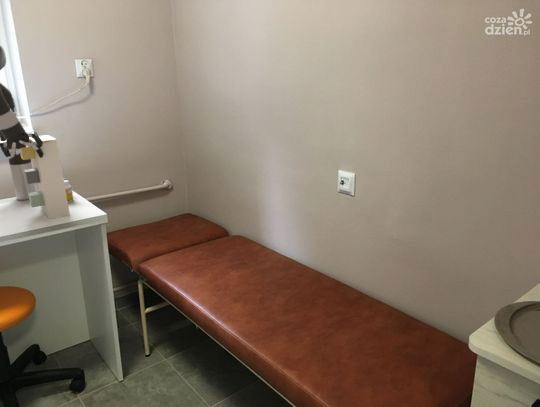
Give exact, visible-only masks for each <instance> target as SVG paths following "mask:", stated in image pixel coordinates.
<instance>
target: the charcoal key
mask: <svg viewBox="0 0 540 407" xmlns="http://www.w3.org/2000/svg"><path fill="white" fill-rule="evenodd" d="M32 168H33V169H26V170H24V174H25V179H26V182H27V183H28V184H32V183H36V184H37V183H39V182H40V178H39V173H38V169H36V168H34V167H32Z"/></svg>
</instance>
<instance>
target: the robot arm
mask: <svg viewBox="0 0 540 407" xmlns="http://www.w3.org/2000/svg"><path fill="white" fill-rule="evenodd" d="M6 65H7V55H6V52H5V50H4V47H3V46H2V45H0V71H1V70H2V69H3V68H5V67H6ZM15 109H16V108H15V101H14V99H13V95H12V92H11V90H10V89H9V88H8V87H6V85H5V84H4V83H2V82H1V81H0V150H1V151H2V153H3V154H4V156H5V157H6V158H8V157H9V158H8V163H9V168H10V172H11V177H12V182H13V188H14V192H15V197H16V200H19V201H23V200H24V201H25V200H29V194H28V193H32V192H38V188H37V183H32V184H28V183H27V182H26V179H25V174H24V170H26V169H33V168H34V167H33V162H32V159H27V160H23V159H22V158H21V154H20V152H19V153H17V150H20V149H21V148H24V147H26V146H28V147H30V148H34V149H36V152H37V153H38V155H39V157H40V158H42V157H43V154H44V153H43V151H42V150H41V148H40V147H42V145H43V142H42V140H41V139H40V137H39V136H40V135H38V133H37V132H36V131H35V130H32V132H30V133H27V131H26V130H25V129H24V127H23V125H22V124H21V122H20V120H19V118H18V117H17V115H16V114H15V113H14V111H15ZM29 137H31V138H32V139H34V140H35V141H36V143H37V144H36V143H34V141H32V140H30V139H29ZM10 150H11V151H10Z"/></svg>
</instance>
